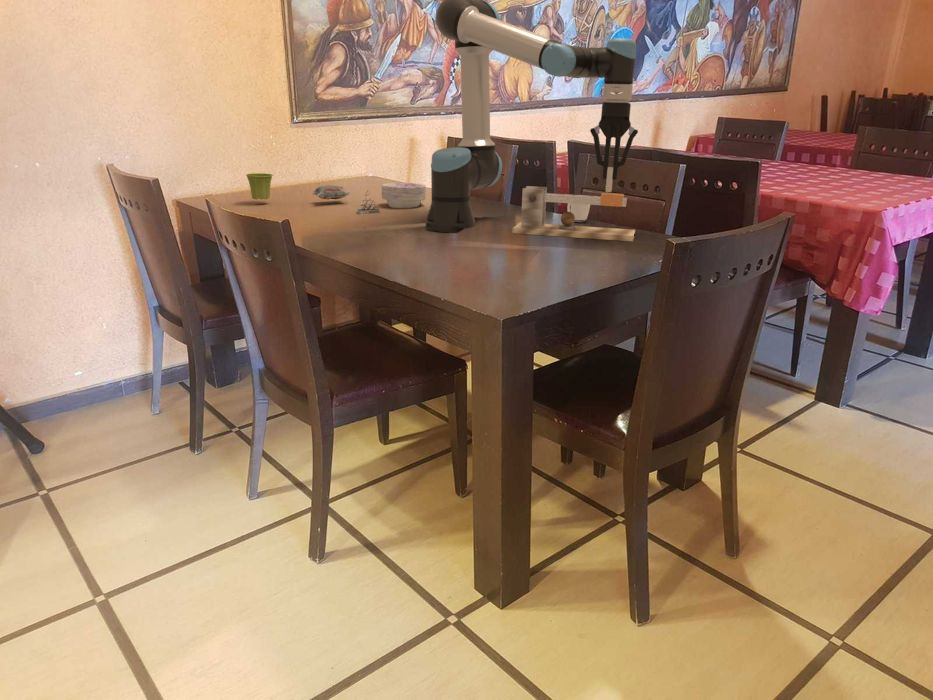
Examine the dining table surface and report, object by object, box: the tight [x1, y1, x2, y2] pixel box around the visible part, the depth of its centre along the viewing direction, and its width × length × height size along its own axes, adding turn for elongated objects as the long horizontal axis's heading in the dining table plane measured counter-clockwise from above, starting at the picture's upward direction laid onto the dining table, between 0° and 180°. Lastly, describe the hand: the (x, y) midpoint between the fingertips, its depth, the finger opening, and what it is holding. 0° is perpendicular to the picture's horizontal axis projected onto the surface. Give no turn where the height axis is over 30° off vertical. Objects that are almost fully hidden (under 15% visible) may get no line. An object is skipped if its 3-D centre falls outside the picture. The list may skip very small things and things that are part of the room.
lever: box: [543, 192, 628, 208], centre depth 196 cm, size 28×4×4 cm, turn 74°
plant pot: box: [245, 172, 273, 200], centre depth 254 cm, size 9×9×9 cm
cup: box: [566, 195, 591, 221], centre depth 218 cm, size 7×10×8 cm
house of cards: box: [356, 189, 381, 215], centre depth 231 cm, size 9×9×8 cm
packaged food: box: [312, 185, 350, 201], centre depth 253 cm, size 9×12×5 cm
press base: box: [512, 185, 636, 242], centre depth 198 cm, size 34×10×12 cm, turn 74°
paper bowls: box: [381, 182, 427, 209], centre depth 240 cm, size 15×15×8 cm
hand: (608, 191), depth 193 cm, fingers closed
